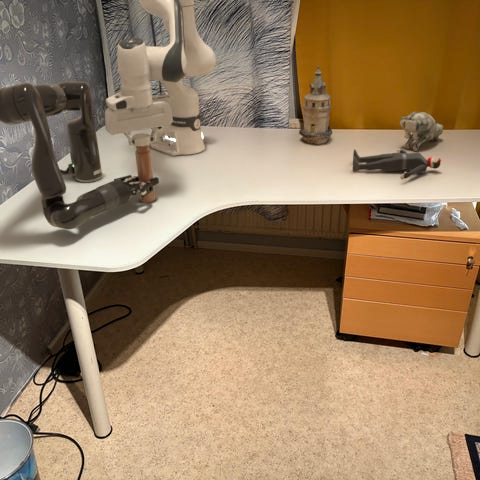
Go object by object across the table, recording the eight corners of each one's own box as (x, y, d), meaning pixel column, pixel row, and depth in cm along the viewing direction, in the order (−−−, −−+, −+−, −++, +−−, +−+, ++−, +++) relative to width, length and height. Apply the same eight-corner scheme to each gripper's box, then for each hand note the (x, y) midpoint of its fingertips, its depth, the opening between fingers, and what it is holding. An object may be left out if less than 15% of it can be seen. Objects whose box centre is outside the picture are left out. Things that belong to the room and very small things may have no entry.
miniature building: (320, 132, 228) (325, 59, 214) (338, 142, 217) (344, 66, 203) (293, 137, 224) (296, 63, 209) (310, 147, 213) (314, 69, 198)
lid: (131, 141, 165) (130, 134, 164) (149, 139, 166) (148, 132, 165) (134, 147, 161) (133, 140, 159) (152, 145, 162) (151, 137, 161)
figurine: (429, 162, 206) (454, 135, 215) (417, 119, 197) (443, 93, 206) (407, 162, 213) (432, 135, 222) (394, 121, 204) (421, 95, 213)
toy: (354, 141, 202) (437, 142, 196) (353, 157, 206) (435, 158, 199) (352, 166, 180) (446, 168, 174) (351, 183, 183) (444, 186, 177)
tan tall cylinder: (154, 202, 171) (149, 147, 162) (140, 203, 170) (133, 147, 161) (155, 196, 175) (150, 142, 166) (141, 196, 174) (135, 142, 165)
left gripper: (124, 190, 154) (167, 172, 165) (93, 178, 162) (135, 162, 173) (127, 213, 158) (169, 194, 169) (96, 201, 165) (138, 183, 177)
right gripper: (166, 90, 163) (169, 134, 170) (100, 100, 155) (106, 145, 162) (174, 95, 158) (177, 140, 165) (106, 105, 150) (113, 152, 157)
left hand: (152, 178), depth 171 cm, fingers closed on tan tall cylinder, 4 cm apart
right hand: (142, 143), depth 163 cm, fingers closed on lid, 5 cm apart
